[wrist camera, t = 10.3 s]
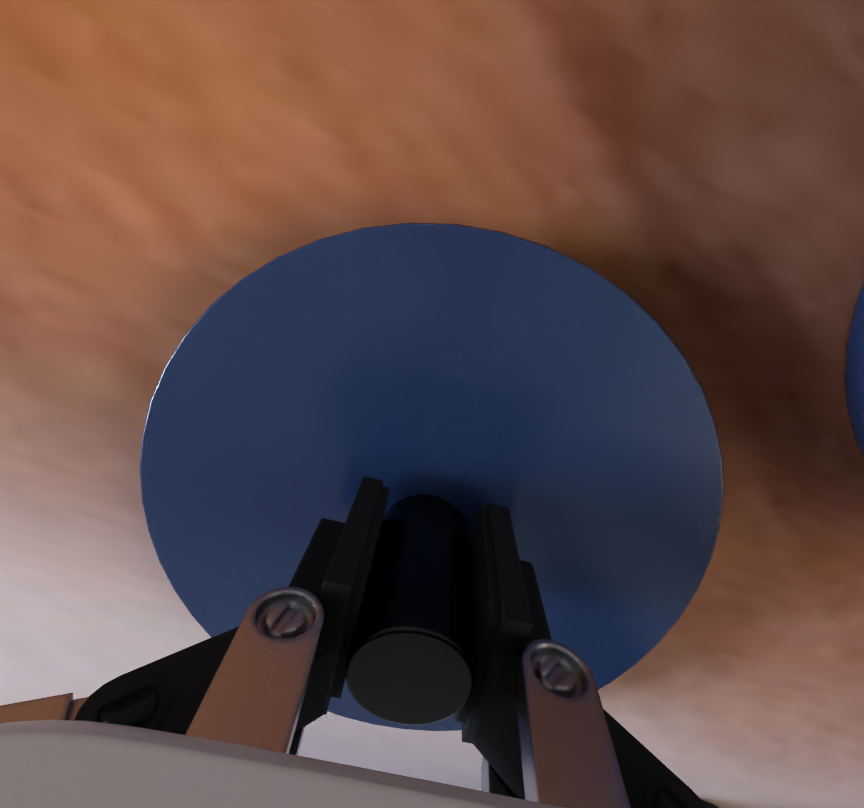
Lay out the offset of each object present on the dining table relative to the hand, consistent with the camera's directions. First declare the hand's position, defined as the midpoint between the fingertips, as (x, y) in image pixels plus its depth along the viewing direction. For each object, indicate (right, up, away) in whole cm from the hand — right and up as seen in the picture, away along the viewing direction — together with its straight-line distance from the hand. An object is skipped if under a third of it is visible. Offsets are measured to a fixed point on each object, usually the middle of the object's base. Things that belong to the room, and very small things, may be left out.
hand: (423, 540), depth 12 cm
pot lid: (0, 0, +1) cm, 1 cm away
